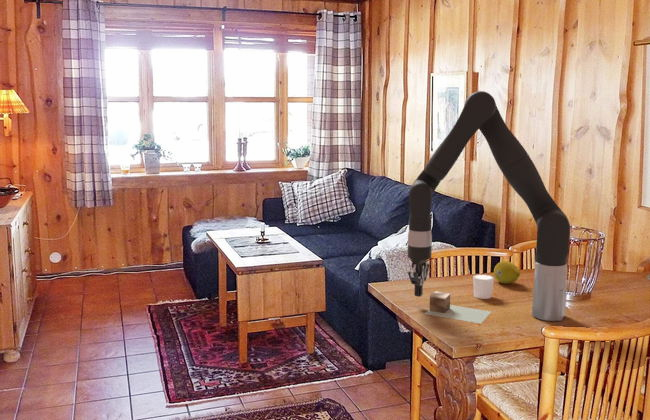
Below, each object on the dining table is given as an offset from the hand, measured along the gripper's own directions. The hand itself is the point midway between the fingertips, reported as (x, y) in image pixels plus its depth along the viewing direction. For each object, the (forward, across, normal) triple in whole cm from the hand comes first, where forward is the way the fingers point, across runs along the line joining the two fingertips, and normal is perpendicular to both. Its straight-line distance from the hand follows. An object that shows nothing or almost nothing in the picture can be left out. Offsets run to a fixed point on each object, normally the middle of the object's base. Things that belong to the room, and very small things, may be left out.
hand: (418, 295), depth 217 cm
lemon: (+4, +39, -18) cm, 43 cm away
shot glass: (+4, +20, -15) cm, 25 cm away
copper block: (+4, 0, -7) cm, 8 cm away
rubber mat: (+4, 0, -13) cm, 14 cm away
